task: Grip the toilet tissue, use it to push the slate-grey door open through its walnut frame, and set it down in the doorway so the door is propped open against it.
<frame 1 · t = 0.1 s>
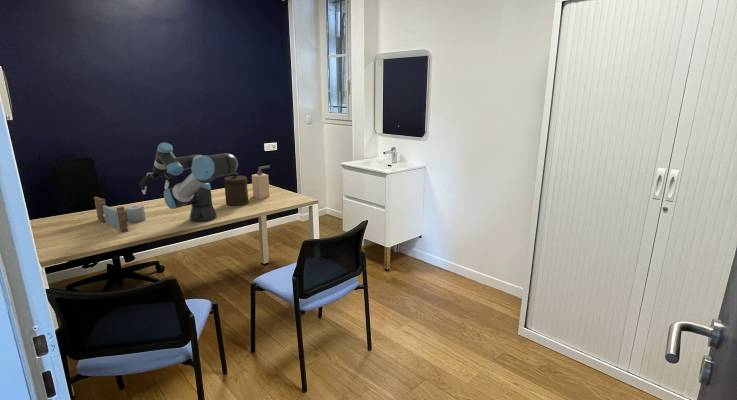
hand: (154, 190, 248), 15 cm above the table, tool tilted 35°, fingers open, 13 cm apart
toilet tissue: (134, 220, 241), on the table
soap dispenser: (263, 196, 296), on the table
wooden container: (237, 203, 277), on the table
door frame: (114, 226, 231), on the table
door: (111, 217, 228), point 6 cm above the table, hinge at 0.0°
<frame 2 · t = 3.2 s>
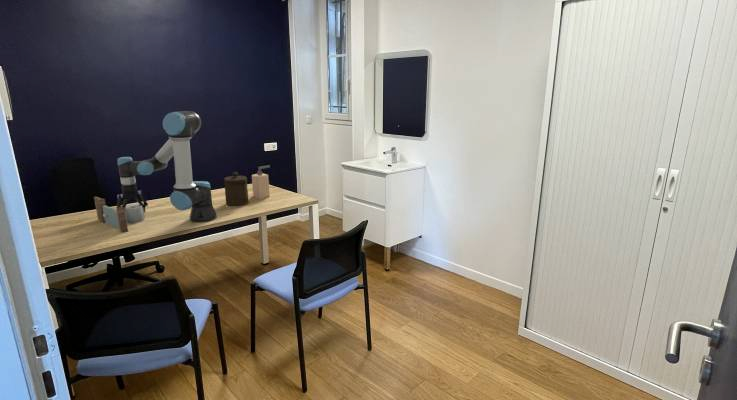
hand: (134, 219, 241), 0 cm above the table, tool pointing down, fingers closed on toilet tissue, 9 cm apart
toilet tissue: (132, 221, 241), on the table, touching gripper
everything else where it was.
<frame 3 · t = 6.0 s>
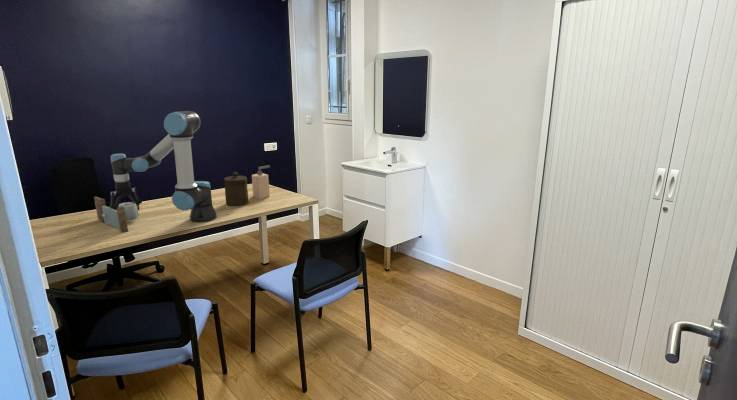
hand: (128, 217, 238), 3 cm above the table, tool pointing down, fingers closed on toilet tissue, 9 cm apart
toilet tissue: (126, 218, 238), point 2 cm above the table, touching gripper
door: (111, 217, 228), point 6 cm above the table, hinge at 1.2°, touching gripper, hand
everything else where it was.
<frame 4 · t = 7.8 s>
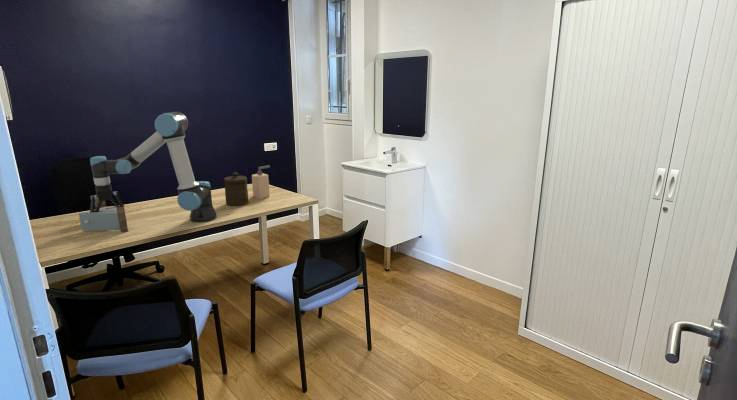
hand: (110, 222, 231), 3 cm above the table, tool pointing down, fingers closed on toilet tissue, 9 cm apart
toilet tissue: (108, 223, 230), point 2 cm above the table, touching gripper
door: (101, 221, 221), point 6 cm above the table, hinge at 41.3°, touching hand
everything else where it was.
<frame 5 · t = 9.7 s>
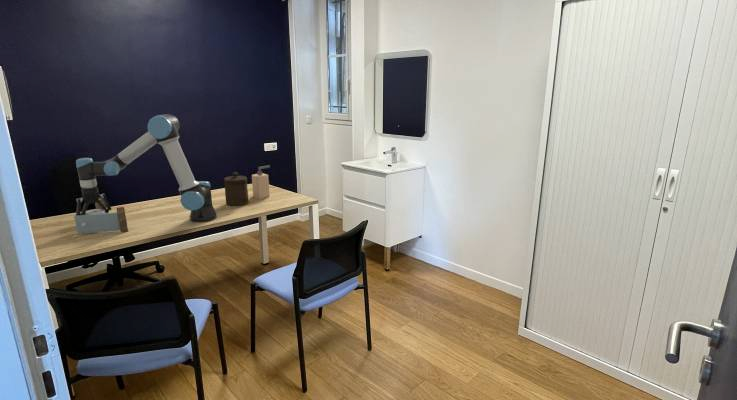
hand: (96, 225, 225), 2 cm above the table, tool pointing down, fingers closed on toilet tissue, 9 cm apart
toilet tissue: (94, 226, 225), point 2 cm above the table, touching gripper
door: (99, 223, 219), point 6 cm above the table, hinge at 55.9°, touching hand
everything else where it was.
when the fingers open (2 cm above the table, at t = 11.2 s): toilet tissue drops 2 cm, on the table.
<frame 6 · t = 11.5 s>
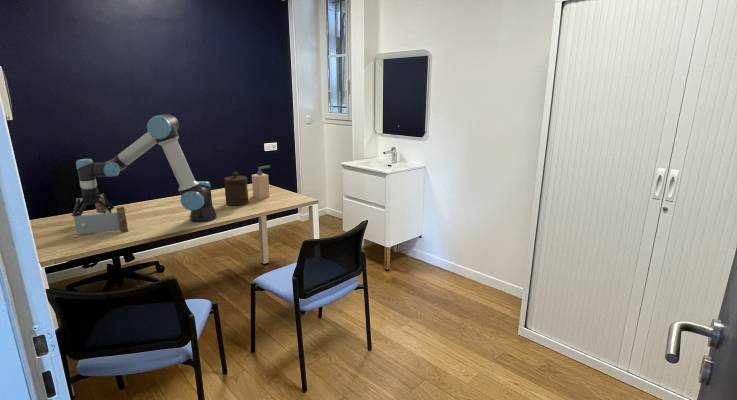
hand: (96, 224, 225), 3 cm above the table, tool pointing down, fingers open, 13 cm apart
toilet tissue: (95, 230, 226), on the table
door: (99, 223, 219), point 6 cm above the table, hinge at 58.4°
everything else where it was.
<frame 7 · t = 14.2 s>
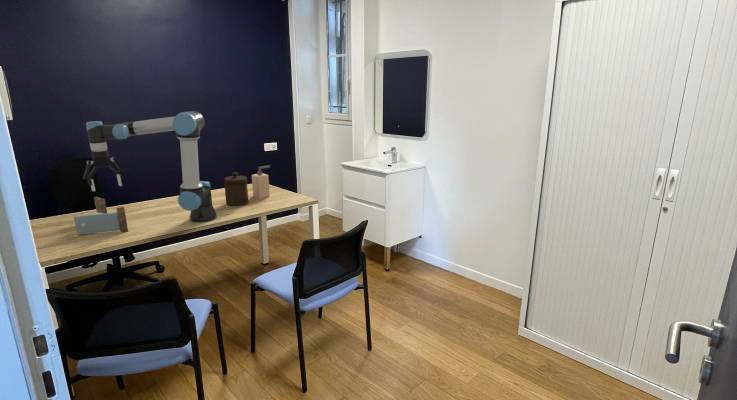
hand: (107, 188, 224), 23 cm above the table, tool pointing down, fingers open, 13 cm apart
nothing on the table moved.
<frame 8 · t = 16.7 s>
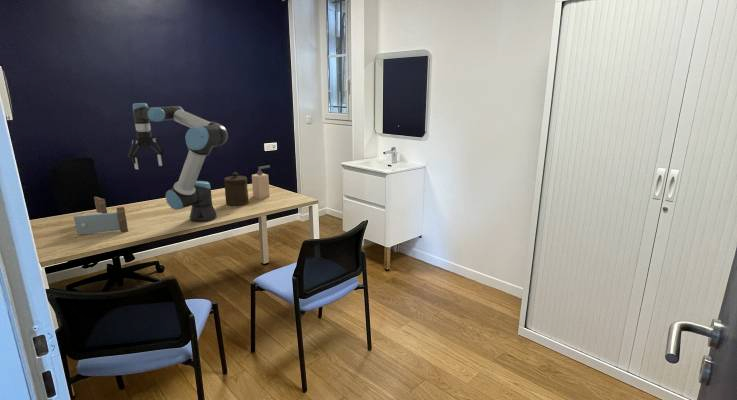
hand: (148, 167, 236), 32 cm above the table, tool pointing down, fingers open, 13 cm apart
at the end: door at +58° (first picture: +0°); toilet tissue inside the target area (2.1 cm from its centre), on the table; the gripper is holding nothing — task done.
